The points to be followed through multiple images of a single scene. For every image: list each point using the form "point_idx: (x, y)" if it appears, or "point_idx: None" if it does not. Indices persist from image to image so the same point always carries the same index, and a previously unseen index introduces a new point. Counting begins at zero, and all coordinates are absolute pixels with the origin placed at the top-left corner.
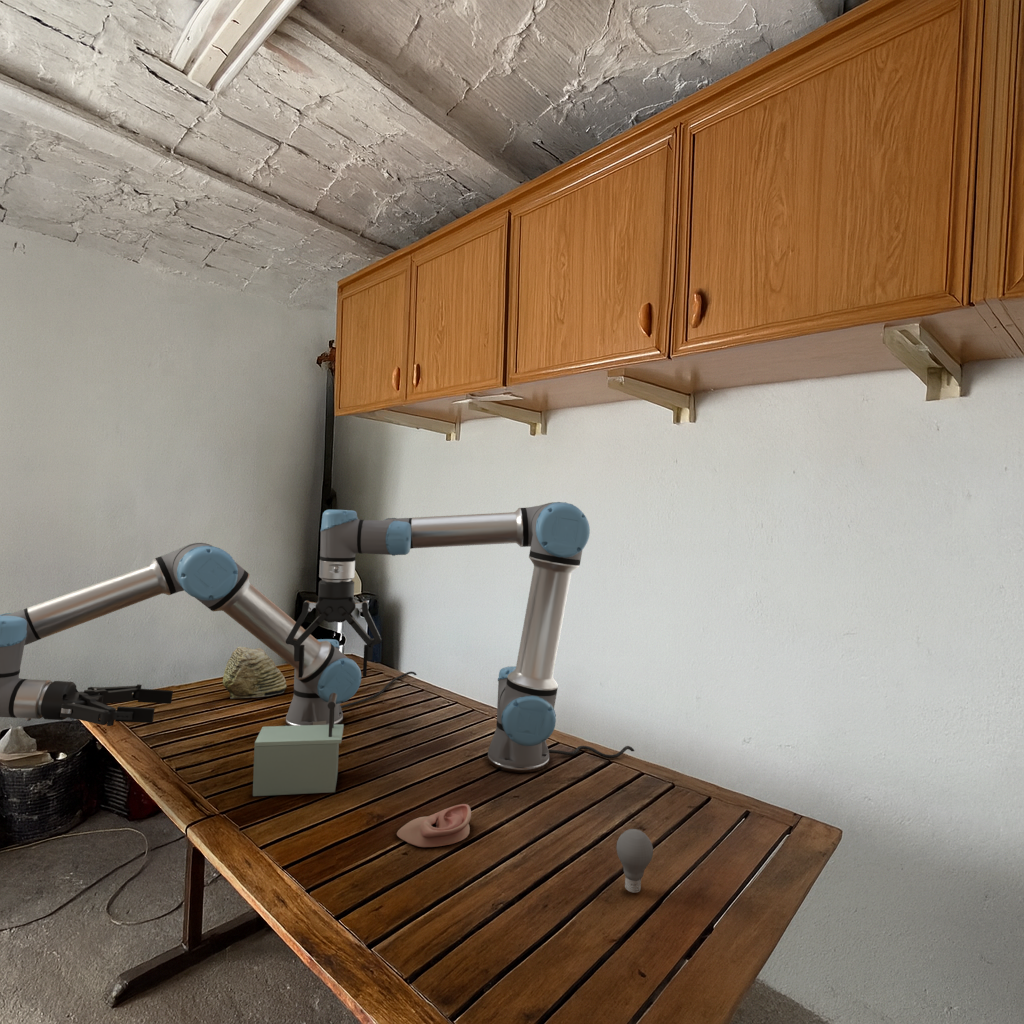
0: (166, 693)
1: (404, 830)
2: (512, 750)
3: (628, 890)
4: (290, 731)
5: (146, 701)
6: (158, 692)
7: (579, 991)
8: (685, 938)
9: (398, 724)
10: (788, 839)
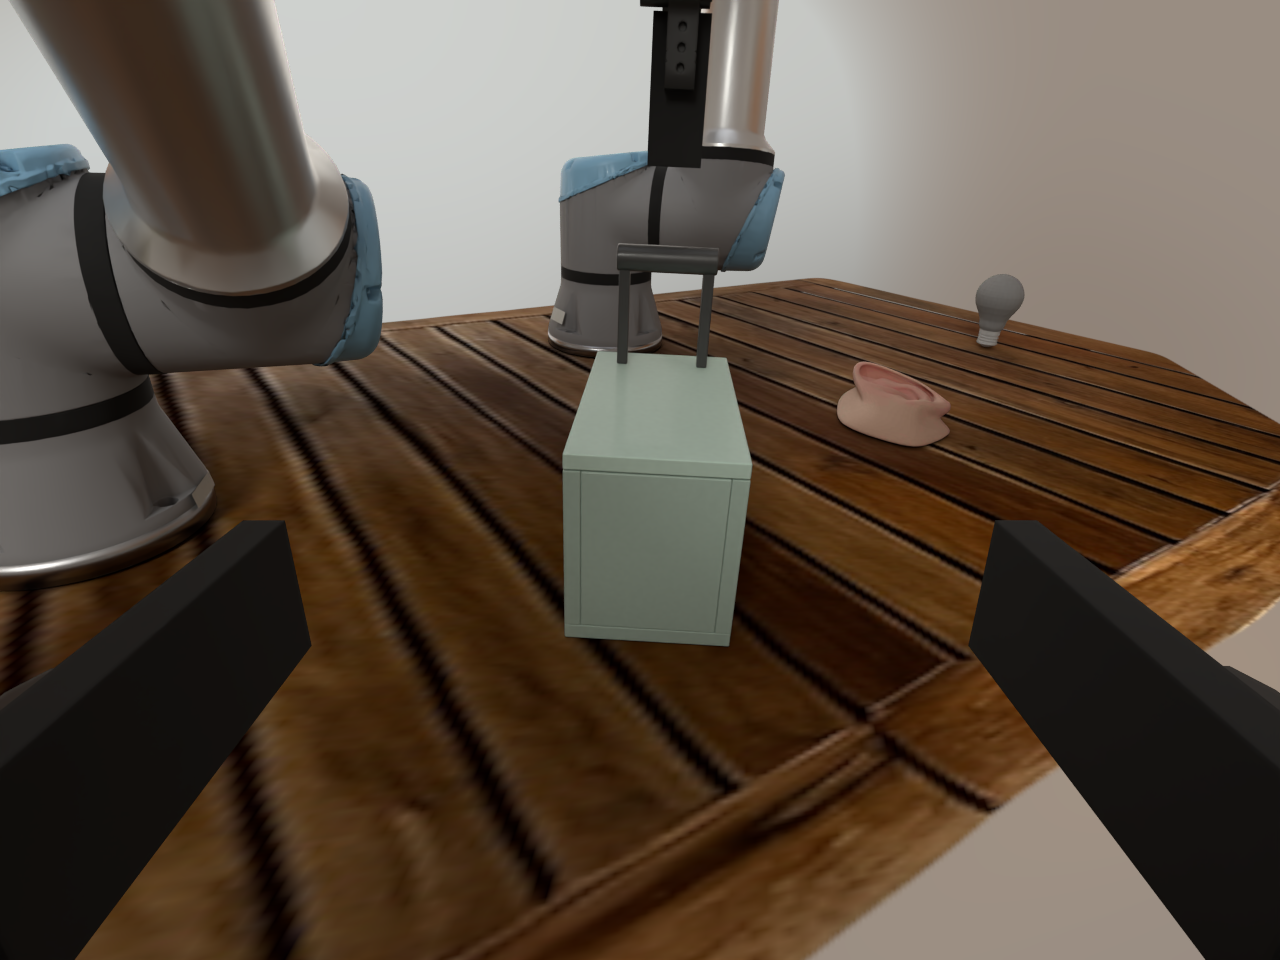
0: (262, 573)
1: (916, 431)
2: (650, 313)
3: (995, 344)
4: (641, 410)
5: (145, 851)
6: (196, 624)
7: (1195, 391)
8: (1055, 345)
9: (300, 408)
10: (844, 289)
